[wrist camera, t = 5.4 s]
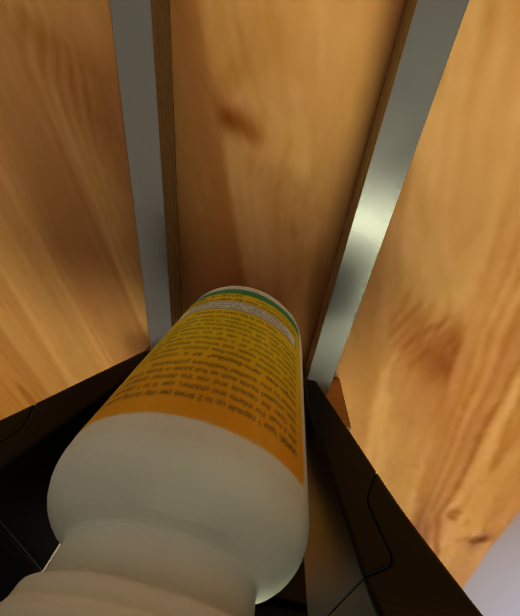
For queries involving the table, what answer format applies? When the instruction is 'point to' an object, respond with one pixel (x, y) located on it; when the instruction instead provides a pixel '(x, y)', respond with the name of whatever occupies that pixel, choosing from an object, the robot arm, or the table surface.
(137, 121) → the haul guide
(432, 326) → the table surface
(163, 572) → the supplement bottle
